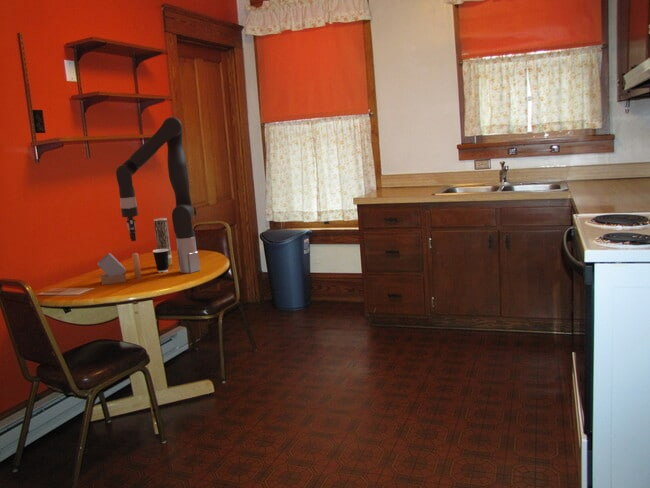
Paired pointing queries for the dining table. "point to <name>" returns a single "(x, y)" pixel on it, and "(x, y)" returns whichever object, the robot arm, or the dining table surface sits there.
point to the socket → (111, 270)
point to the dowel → (136, 265)
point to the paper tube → (162, 236)
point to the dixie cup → (161, 259)
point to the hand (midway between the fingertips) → (133, 239)
